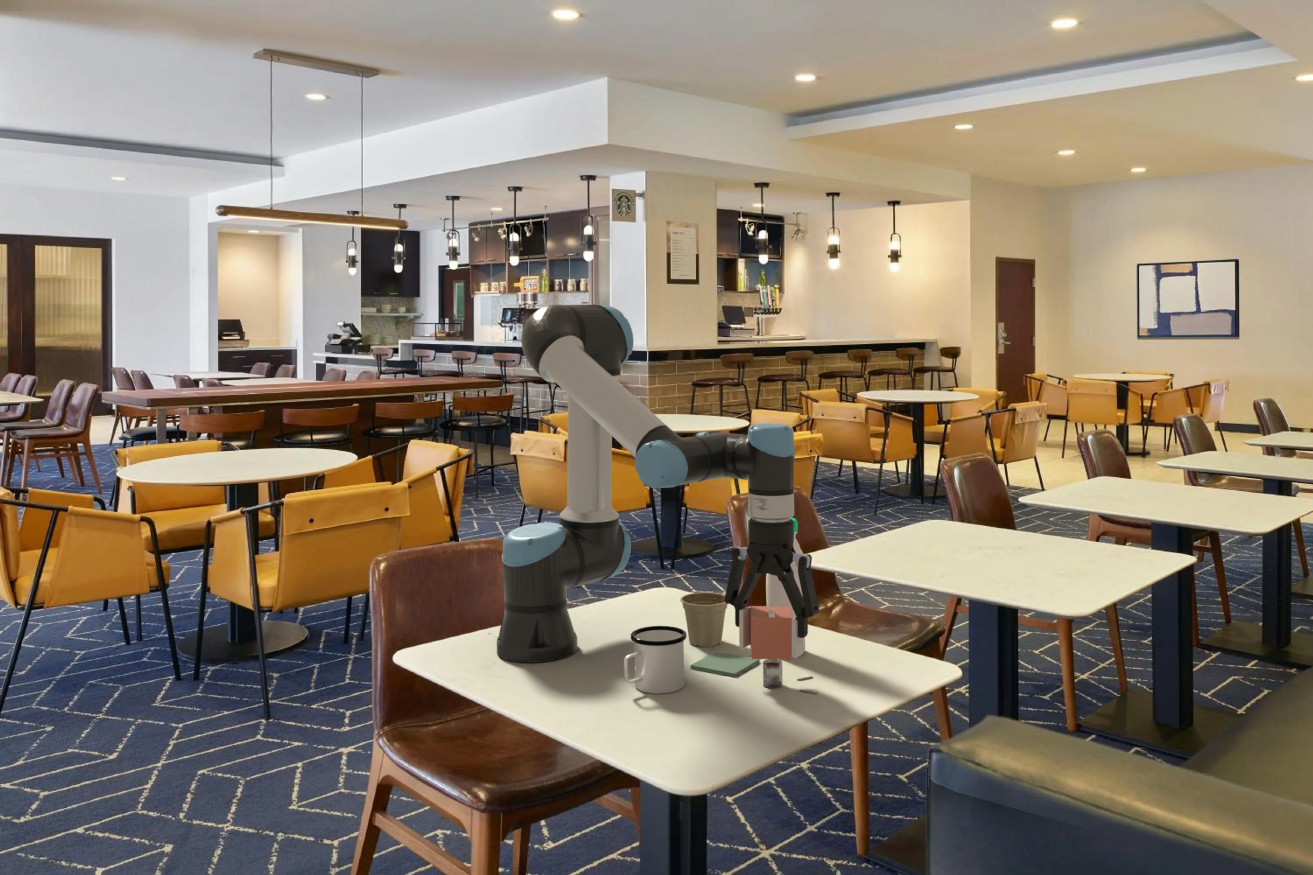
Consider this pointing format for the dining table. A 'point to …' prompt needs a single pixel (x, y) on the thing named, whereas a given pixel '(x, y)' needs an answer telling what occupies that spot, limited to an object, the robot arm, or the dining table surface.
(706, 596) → the flower pot
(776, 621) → the orange box with tab
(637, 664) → the mug
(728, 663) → the pad
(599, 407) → the robot arm
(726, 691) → the dining table surface
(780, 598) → the water bottle
